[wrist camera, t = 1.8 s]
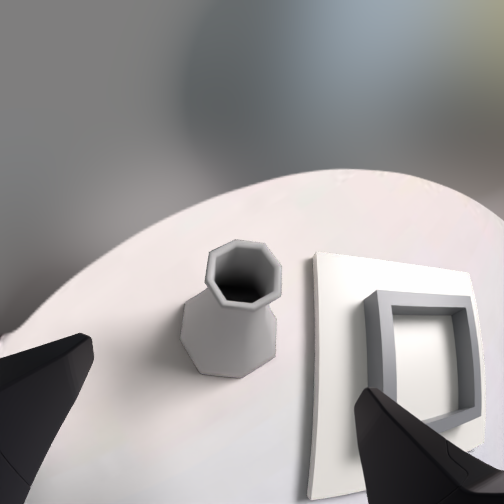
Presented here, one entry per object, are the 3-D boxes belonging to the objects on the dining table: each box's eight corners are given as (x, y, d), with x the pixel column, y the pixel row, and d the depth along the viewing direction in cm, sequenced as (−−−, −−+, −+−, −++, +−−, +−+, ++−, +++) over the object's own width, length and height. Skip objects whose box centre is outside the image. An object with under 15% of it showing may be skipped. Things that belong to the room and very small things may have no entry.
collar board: (477, 443, 15) (498, 441, 13) (306, 496, 14) (322, 509, 11) (463, 276, 25) (481, 263, 23) (312, 257, 24) (325, 237, 21)
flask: (190, 388, 17) (170, 381, 9) (172, 294, 20) (147, 213, 12) (289, 365, 19) (353, 335, 10) (263, 277, 22) (297, 194, 14)
